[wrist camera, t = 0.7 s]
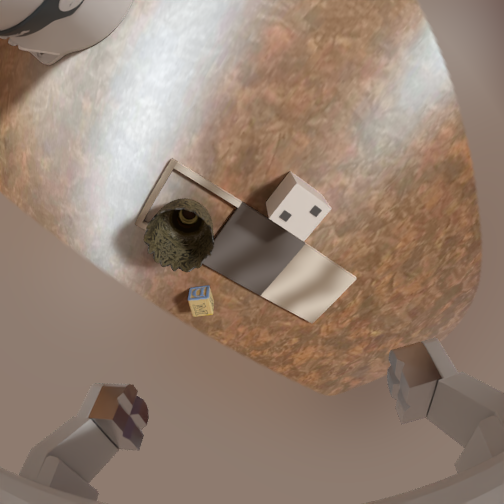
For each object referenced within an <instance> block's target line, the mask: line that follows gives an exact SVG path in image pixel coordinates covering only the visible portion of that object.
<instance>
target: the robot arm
mask: <svg viewBox="0 0 504 504" xmlns="http://www.w3.org/2000/svg"><path fill="white" fill-rule="evenodd" d="M132 2H133V0H0V38H2V39H7V38H8V37H10V39H9V41H8V43H9V44H10V45H12V46H16V45H18V48H19V49H20V50H24V51H29V52H30V53H31V54H32V55H33V56H35V57H36V58H37V59H38V60H39V61H40V62H41V63H43V64H46V65H51V64H53V63H55V62H57V61H58V60H59V59H61V58H62V57H63V56H65V55H66V54H68V53H71V52H75V51H79V50H83V49H86V48H88V47H90V46H92V45H94V44H96V43H98V42H100V41H101V40H102V39H104V38H105V37H106V36H108V35H109V34H110V33H111V32H112V31H113V30H114V29H115V28H116V27H117V26H118V25H119V24H120V22H121V21H122V20H123V19H124V17H125V16H126V14H127V12H128V11H129V9H130V7H131V4H132ZM43 53H44V54H43ZM389 361H390V364H391V366H390V367H389V368H388V372H387V380H388V387H389V391H390V394H391V397H392V398H394V399H395V400H397V402H396V411H397V414H398V417H399V419H400V422H401V424H405V423H408V422H412V421H416V420H419V419H422V418H426V417H427V419H428V420H429V421H430V422H432V423H433V424H434V425H436V426H437V427H438V428H439V429H441V430H442V431H443V432H444V433H446V434H447V435H448V436H450V437H451V438H452V439H454V440H455V441H456V442H458V443H459V444H460V445H461V446H463V447H464V448H465V449H464V450H463V452H462V453H461V455H460V457H459V458H458V460H457V461H456V463H455V467H456V470H457V474H455V475H453V476H450V477H448V478H445V479H443V480H440V481H437V482H435V483H432V484H429V485H426V486H423V487H421V488H417V489H415V490H411V491H408V492H405V493H402V494H398V495H395V496H392V497H388V498H384V499H380V500H376V501H372V502H368V503H364V504H504V393H503V392H502V391H500V390H497V389H495V388H493V387H492V386H489V385H488V384H486V383H484V382H482V381H480V380H478V379H476V378H474V377H472V376H470V375H468V374H466V373H464V372H460V373H458V371H457V370H456V368H455V366H454V365H453V363H452V361H451V360H450V358H449V356H448V355H447V353H446V351H445V350H444V348H443V347H442V345H441V343H440V342H439V340H438V339H437V338H432V339H429V340H425V341H422V342H418V343H415V344H411V345H408V346H404V347H400V348H397V349H393V350H391V351H390V353H389ZM137 392H138V391H137V390H136V388H135V387H134V385H131V384H101V383H95V384H93V385H92V386H91V388H90V390H89V392H88V394H87V396H86V398H85V400H84V402H83V404H82V406H81V408H80V410H79V412H78V414H77V416H76V417H72V418H71V419H69V420H68V421H67V422H66V423H64V424H63V425H62V426H60V427H59V428H58V429H57V430H55V431H54V432H53V433H52V434H50V435H49V436H47V437H46V438H45V439H44V440H42V441H41V442H40V443H38V444H37V445H36V446H34V447H33V448H32V449H31V450H30V452H29V454H28V457H27V459H26V461H25V463H24V465H23V467H22V469H21V472H20V474H19V475H17V474H15V473H13V472H10V471H8V470H6V469H3V468H1V467H0V504H107V503H103V502H99V501H97V497H98V494H99V493H98V491H97V490H96V489H95V488H93V487H92V486H91V485H90V484H88V483H89V482H90V481H91V480H92V479H93V478H94V477H95V476H96V475H97V474H98V473H99V472H100V470H101V469H102V468H103V467H104V466H105V465H106V464H107V463H108V462H109V461H110V459H111V458H112V457H113V456H114V455H115V454H116V453H117V452H118V451H119V450H118V449H125V450H139V449H140V446H141V443H142V439H143V436H144V435H143V433H142V429H143V428H144V427H145V426H146V425H147V422H148V418H149V416H148V408H147V405H146V403H145V402H144V400H143V399H141V398H140V397H138V396H137Z"/></svg>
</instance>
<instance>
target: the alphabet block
mask: <svg viewBox="0 0 504 504" xmlns="http://www.w3.org/2000/svg"><path fill="white" fill-rule="evenodd" d="M188 303H189V306H190V309H191V312H192V315H193V317H197V316H204V315H212V314H213V307H214V301H213V297H212V293H211V289H210V286H201V287H194V288H190V289H189V295H188Z"/></svg>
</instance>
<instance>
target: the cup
mask: <svg viewBox="0 0 504 504" xmlns="http://www.w3.org/2000/svg"><path fill="white" fill-rule="evenodd" d="M184 209H185V210H186V211H189V212H194V213H195V217H194V218H193V219H186V218H185V217H184V216H183V210H184ZM146 229H147V230H146V232H145V236H144V242H145V243H146V244H147V245H148V246H149V247H148V253H149V254H152V253H154V254H153V257H154V260H155V262H157V263H160V264H161V266H162V267H165V266H169V265H171V268H172V270H173V271H176V270H177V269H178V268H179V269H181V270H182V271H185V272H190V271H191V270H193V269H194V268H200V267H201V266H202V262H203V260H204V259H206V258H207V257H208V255H210V256H211V254H212V250H213V249H214V236H213V225H212V220H211V217H210V215H209V213H208V211H207V210H206V209H205V207H204V206H203V205H201V204H200V203H198V202H196V201H194V200H191V199H178V200H174V201H172V202H170V203H168V204H167V205H166V206H164V207H163V208H162V209H161V210H160V211H159V212H158V213H157V214H156V215H155V216H154V217H153V218H152V220H151V221H150V222H149V223H148V225H147V227H146Z"/></svg>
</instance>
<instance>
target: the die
mask: <svg viewBox="0 0 504 504" xmlns="http://www.w3.org/2000/svg"><path fill="white" fill-rule="evenodd" d="M266 207H267V212H268V217H269V219H270V220H272V221H273V222H275V223H276V224H278V225H279V226H281V227H282V228H284V229H285V230H287V231H288V232H290V233H292V234H293V235H295V236H296V237H298V238H299V239H301V240H302V241H305V240H306V238H307V237H308V236H309V235H310V234H311V233H312V231H313V230H314V229H315V228H316V227H317V225H318V224H319V223H320V222H321V221H322V219H323V218H324V217H325V216H326V215H327V214H328V212H329V211H330V210H331V209H332V208H331V207H330V205H329V204H328V202H327V201H326V200H325V198H324V197H323V195H322V194H321V193H320V192H318V191H317V190H316V189H314V188H313V187H312V186H310V185H309V184H308V183H306V182H305V181H303V180H302V179H301V178H299V177H298V176H297V175H295V174H294V173H292V172H291V171H290V172H289V173H288V174H287V175H286V177H285V178H284V179H283V181H282V182H281V183H280V184H279V186H278V187H277V188H276V190H275V191H274V192H273V194H272V195H271V196H270V197H269V199H268V200H267V201H266Z"/></svg>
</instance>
